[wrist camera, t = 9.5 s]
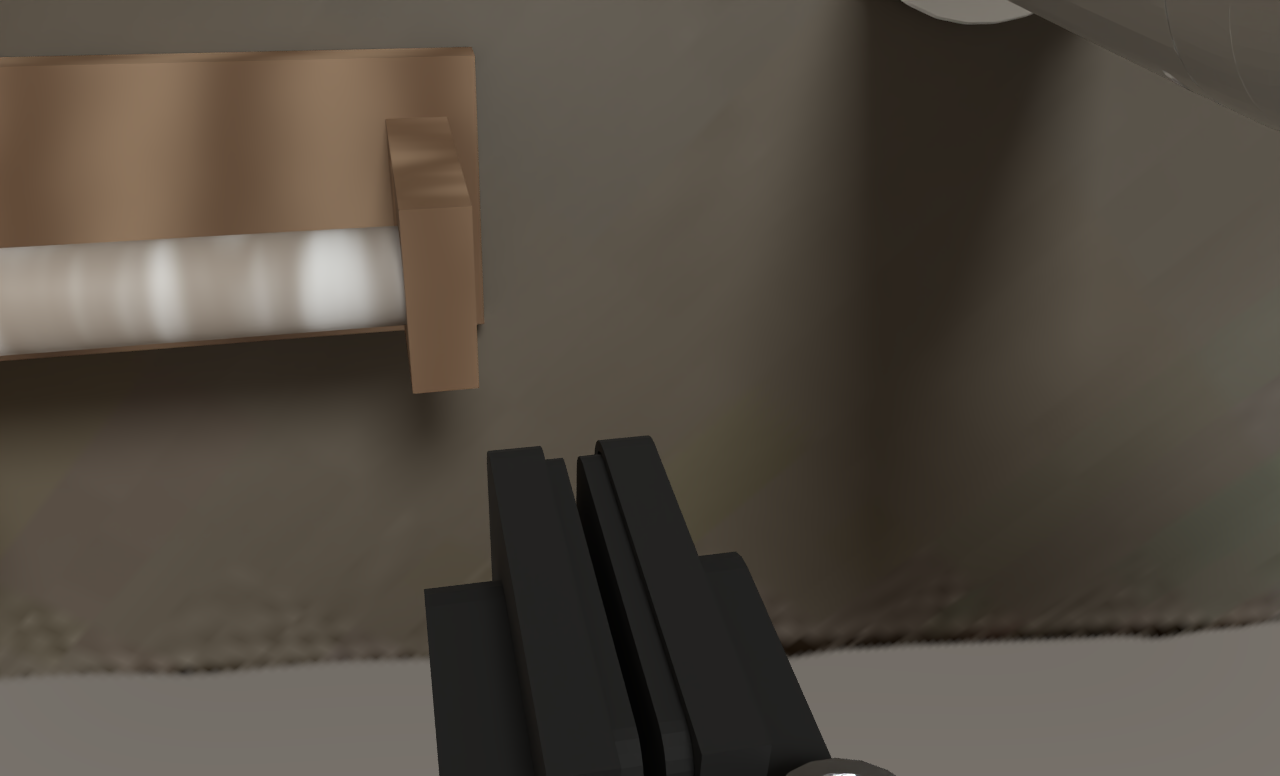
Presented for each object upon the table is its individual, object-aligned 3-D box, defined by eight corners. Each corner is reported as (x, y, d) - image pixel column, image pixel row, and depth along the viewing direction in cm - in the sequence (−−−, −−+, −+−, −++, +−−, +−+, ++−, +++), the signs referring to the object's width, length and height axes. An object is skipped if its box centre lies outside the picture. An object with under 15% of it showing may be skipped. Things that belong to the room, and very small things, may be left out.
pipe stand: (471, 47, 37) (506, 135, 30) (481, 310, 42) (512, 437, 35) (-545, 69, 31) (-796, 187, 24) (-383, 375, 36) (-548, 544, 29)
